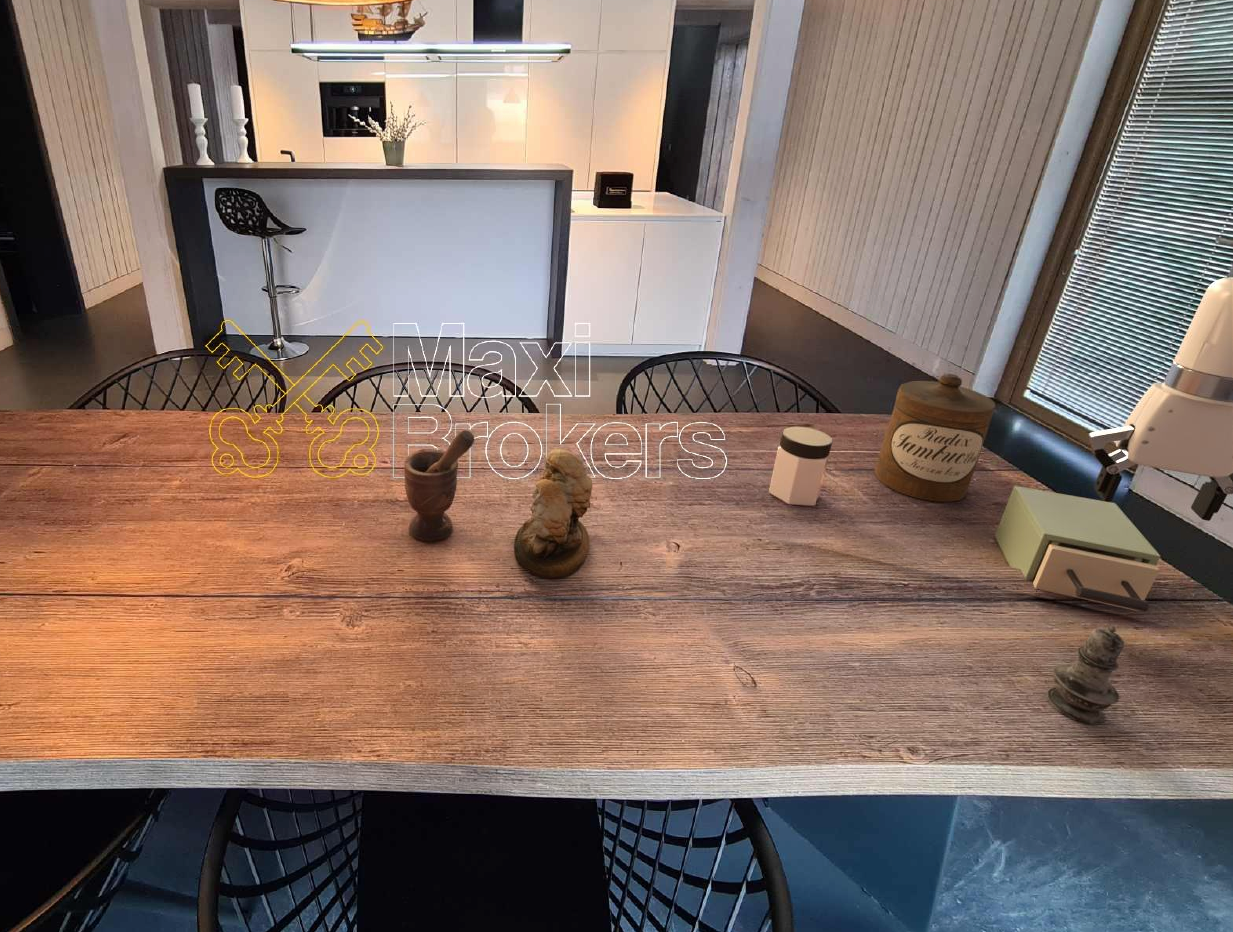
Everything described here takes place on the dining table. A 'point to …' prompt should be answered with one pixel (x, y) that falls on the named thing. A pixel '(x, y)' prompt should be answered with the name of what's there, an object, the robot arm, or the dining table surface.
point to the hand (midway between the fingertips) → (1150, 505)
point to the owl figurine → (556, 519)
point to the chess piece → (1088, 679)
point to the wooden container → (934, 439)
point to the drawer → (1095, 575)
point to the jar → (800, 465)
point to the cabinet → (1065, 528)
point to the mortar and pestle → (434, 487)
